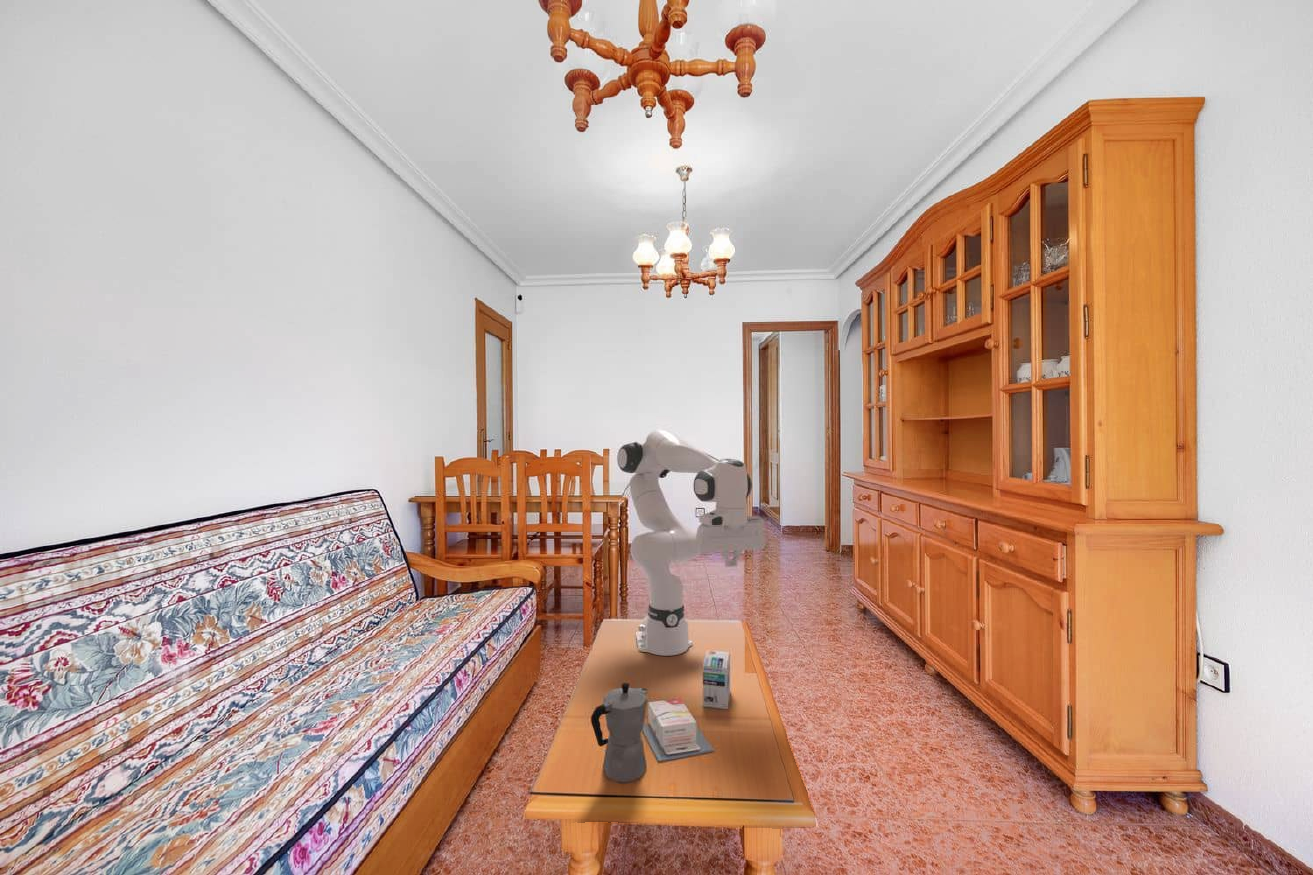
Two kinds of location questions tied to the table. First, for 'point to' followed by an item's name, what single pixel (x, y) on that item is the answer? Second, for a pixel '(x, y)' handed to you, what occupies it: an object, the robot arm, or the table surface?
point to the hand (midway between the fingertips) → (731, 566)
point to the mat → (662, 756)
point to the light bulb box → (716, 679)
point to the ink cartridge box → (673, 725)
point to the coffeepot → (622, 732)
